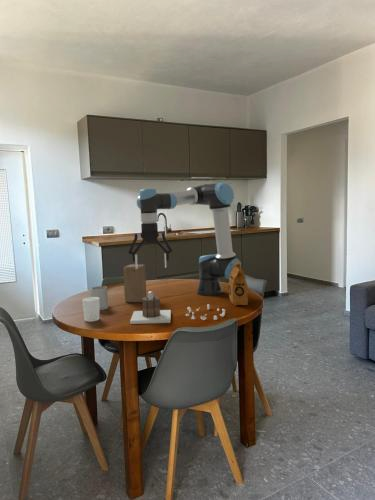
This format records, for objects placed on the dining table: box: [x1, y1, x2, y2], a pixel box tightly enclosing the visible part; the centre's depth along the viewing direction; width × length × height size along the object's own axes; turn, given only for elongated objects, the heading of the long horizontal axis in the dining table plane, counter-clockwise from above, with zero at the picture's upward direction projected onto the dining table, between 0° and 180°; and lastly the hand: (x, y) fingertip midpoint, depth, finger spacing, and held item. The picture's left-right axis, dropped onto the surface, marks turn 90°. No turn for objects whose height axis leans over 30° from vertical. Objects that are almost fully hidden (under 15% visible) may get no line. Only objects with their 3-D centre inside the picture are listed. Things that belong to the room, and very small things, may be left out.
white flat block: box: [129, 309, 172, 325], centre depth 175 cm, size 18×16×2 cm
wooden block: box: [123, 263, 147, 303], centre depth 209 cm, size 10×10×20 cm
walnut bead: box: [141, 295, 161, 318], centre depth 175 cm, size 8×8×8 cm
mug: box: [90, 285, 109, 311], centre depth 196 cm, size 12×8×11 cm
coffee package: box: [228, 261, 249, 307], centre depth 197 cm, size 10×12×22 cm
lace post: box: [147, 291, 154, 300], centre depth 174 cm, size 2×2×11 cm
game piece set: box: [185, 303, 226, 321], centre depth 179 cm, size 19×20×4 cm
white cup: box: [81, 296, 101, 322], centre depth 175 cm, size 8×8×10 cm
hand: (151, 268), depth 174 cm, fingers open, 13 cm apart
